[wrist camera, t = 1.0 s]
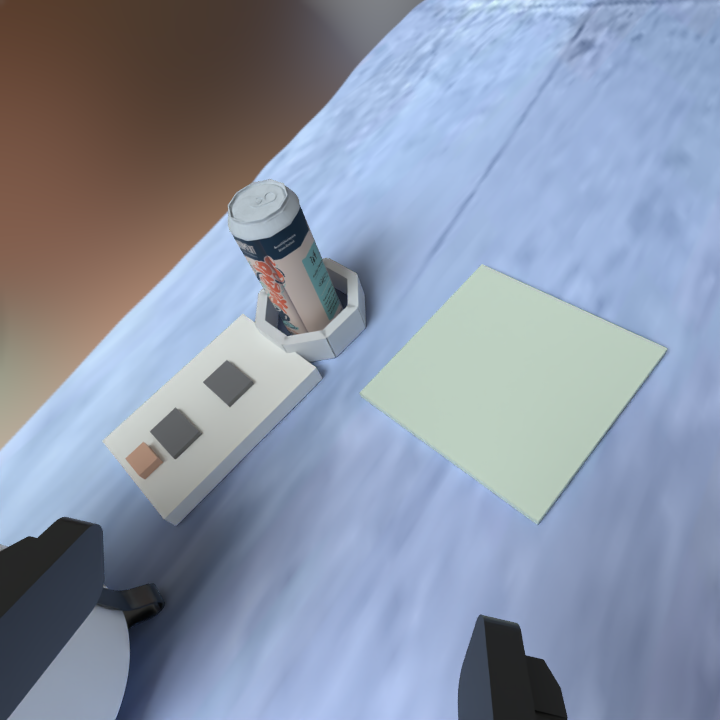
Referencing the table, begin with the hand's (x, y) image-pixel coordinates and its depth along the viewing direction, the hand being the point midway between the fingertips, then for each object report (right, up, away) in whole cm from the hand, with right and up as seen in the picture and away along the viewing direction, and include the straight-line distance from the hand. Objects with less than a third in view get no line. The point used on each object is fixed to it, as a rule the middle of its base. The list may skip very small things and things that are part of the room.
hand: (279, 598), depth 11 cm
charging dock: (-6, +3, +29) cm, 30 cm away
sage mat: (+11, +4, +24) cm, 27 cm away
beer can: (-2, +8, +31) cm, 32 cm away
